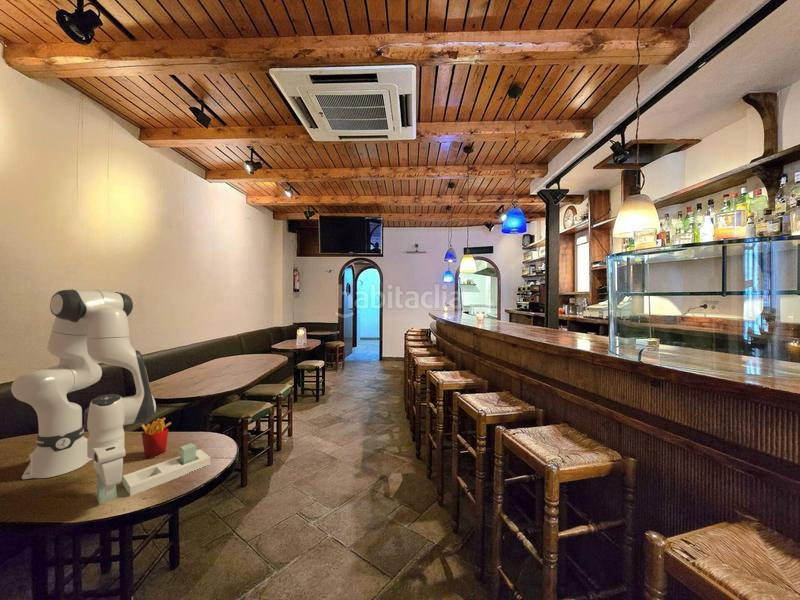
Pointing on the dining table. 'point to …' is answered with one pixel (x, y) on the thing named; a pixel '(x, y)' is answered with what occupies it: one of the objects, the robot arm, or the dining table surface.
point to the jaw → (103, 491)
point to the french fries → (155, 438)
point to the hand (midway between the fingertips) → (106, 488)
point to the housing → (166, 470)
